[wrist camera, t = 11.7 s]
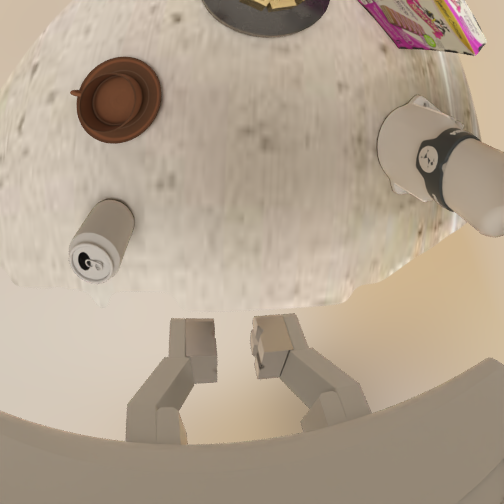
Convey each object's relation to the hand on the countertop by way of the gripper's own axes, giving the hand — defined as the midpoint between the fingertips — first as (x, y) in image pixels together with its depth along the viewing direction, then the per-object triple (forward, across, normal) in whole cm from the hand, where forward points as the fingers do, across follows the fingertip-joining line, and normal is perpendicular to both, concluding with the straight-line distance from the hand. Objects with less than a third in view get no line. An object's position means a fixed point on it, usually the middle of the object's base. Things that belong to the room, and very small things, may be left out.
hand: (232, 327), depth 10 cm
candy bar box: (+31, -24, -25) cm, 47 cm away
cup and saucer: (+32, +12, -6) cm, 35 cm away
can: (+31, +15, +12) cm, 37 cm away
